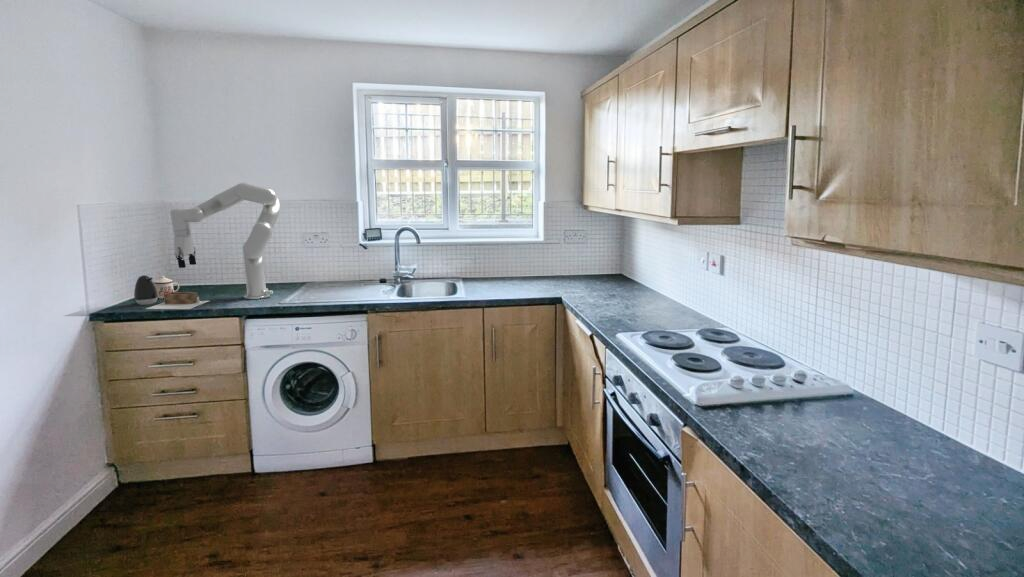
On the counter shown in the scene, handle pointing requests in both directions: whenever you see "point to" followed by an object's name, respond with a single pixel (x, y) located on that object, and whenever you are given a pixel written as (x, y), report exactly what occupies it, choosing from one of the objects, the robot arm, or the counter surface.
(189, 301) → the frame
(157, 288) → the teacup with lid
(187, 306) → the wall board
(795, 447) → the counter surface
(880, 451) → the counter surface
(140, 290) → the dark grey egg-shaped piece
